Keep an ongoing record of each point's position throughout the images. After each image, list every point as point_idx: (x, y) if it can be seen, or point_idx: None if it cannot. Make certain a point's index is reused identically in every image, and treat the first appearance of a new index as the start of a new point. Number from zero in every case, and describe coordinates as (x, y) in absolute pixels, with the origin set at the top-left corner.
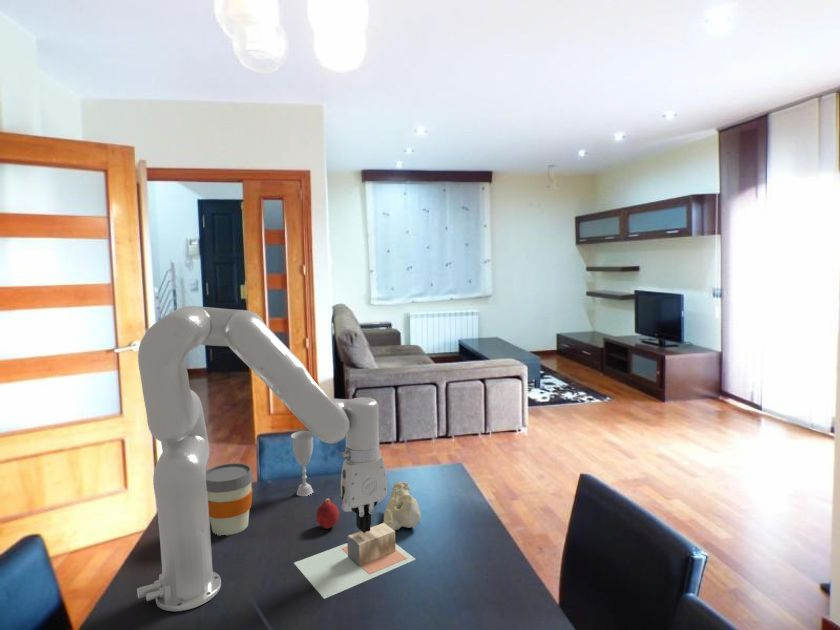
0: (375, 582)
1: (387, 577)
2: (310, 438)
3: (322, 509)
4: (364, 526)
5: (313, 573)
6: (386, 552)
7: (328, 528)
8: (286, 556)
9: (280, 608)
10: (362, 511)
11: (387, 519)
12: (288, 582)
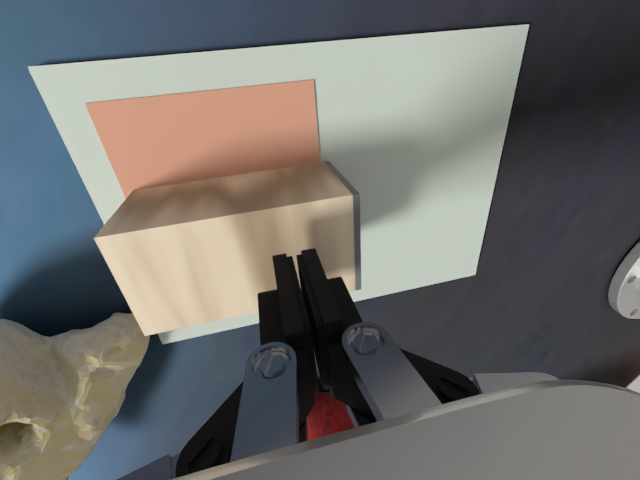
0: (305, 16)
1: (237, 19)
2: None
3: None
4: (322, 269)
5: (467, 199)
6: (184, 186)
7: (317, 391)
8: (462, 312)
9: (619, 80)
10: (369, 361)
11: (110, 380)
12: (526, 199)
